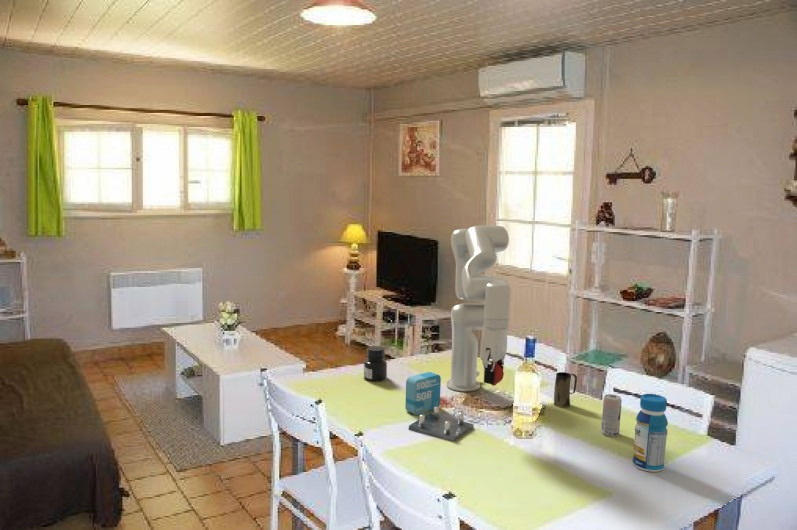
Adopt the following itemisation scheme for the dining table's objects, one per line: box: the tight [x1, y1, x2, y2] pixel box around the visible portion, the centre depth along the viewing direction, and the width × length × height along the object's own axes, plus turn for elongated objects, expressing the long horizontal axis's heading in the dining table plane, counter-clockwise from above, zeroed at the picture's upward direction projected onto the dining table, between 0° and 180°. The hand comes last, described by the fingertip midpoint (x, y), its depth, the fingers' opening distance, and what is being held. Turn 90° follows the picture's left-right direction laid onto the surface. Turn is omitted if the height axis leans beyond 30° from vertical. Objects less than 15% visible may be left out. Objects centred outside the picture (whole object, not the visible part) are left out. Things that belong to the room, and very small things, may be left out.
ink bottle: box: [363, 345, 388, 382], centre depth 253 cm, size 10×9×12 cm
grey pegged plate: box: [408, 406, 475, 442], centre depth 205 cm, size 13×16×5 cm
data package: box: [404, 371, 442, 415], centre depth 221 cm, size 12×4×12 cm, turn 130°
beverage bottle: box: [632, 393, 669, 473], centre depth 181 cm, size 8×8×20 cm
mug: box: [553, 371, 578, 409], centre depth 228 cm, size 8×6×12 cm
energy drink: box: [600, 393, 623, 438], centre depth 204 cm, size 5×5×12 cm
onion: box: [489, 361, 505, 387], centre depth 200 cm, size 6×6×8 cm
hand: (493, 379), depth 200 cm, fingers closed on onion, 5 cm apart
